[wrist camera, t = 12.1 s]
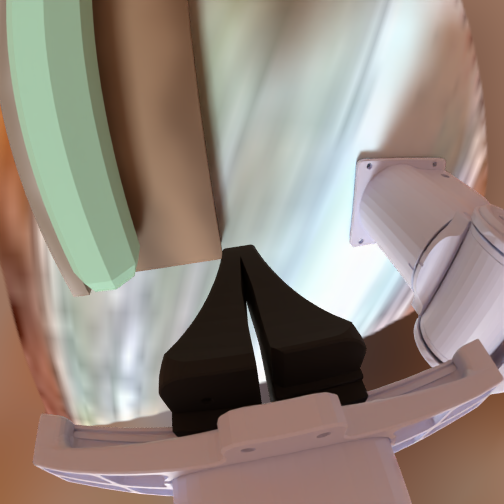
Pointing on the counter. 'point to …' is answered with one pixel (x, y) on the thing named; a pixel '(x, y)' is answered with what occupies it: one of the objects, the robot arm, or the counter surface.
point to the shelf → (140, 133)
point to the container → (71, 137)
